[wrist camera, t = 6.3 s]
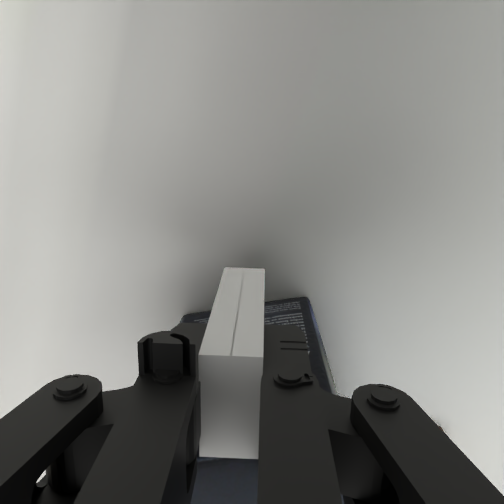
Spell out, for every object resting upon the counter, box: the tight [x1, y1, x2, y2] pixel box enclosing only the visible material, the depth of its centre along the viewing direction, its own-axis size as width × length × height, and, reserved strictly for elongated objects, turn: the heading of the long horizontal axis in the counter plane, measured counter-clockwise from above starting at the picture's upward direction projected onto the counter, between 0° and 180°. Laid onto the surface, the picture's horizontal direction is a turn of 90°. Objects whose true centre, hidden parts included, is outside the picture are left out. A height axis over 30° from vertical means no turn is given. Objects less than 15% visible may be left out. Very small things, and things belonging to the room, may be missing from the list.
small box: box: [180, 297, 344, 504], centre depth 18 cm, size 11×6×10 cm, turn 10°
